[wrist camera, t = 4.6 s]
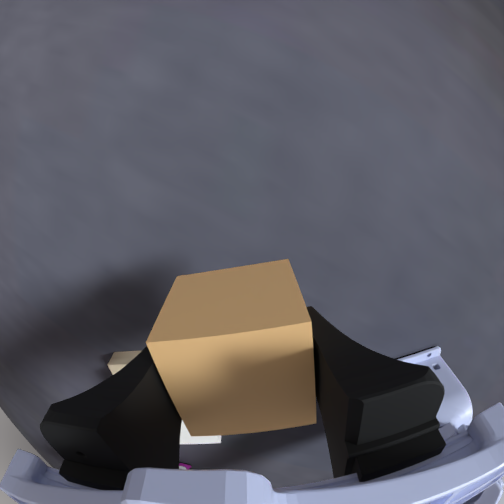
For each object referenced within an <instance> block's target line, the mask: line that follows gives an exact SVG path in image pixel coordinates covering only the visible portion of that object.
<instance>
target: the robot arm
mask: <svg viewBox="0 0 504 504" xmlns="http://www.w3.org/2000/svg"><path fill="white" fill-rule="evenodd" d="M306 308H307V310H308V313H309V316H310V319H311V321H312V336H313V352H314V370H315V393H316V398H317V401H318V404H319V407H320V410H321V415H322V419H323V424H324V428H325V433H326V438H327V443H328V448H329V453H330V458H331V464H332V469H333V475H334V478H333V479H329V480H324V481H319V482H313V483H308V484H302V485H296V486H289V487H281V488H273V489H272V486H271V483H270V481H268V480H267V479H266V478H265V477H264V476H262V475H261V474H258V473H254V472H251V471H247V470H234V469H214V470H187V469H179V448H180V433H181V423H182V419H181V417H180V415H179V413H178V411H177V409H176V407H175V405H174V403H173V401H172V399H171V397H170V395H169V393H168V391H167V389H166V387H165V385H164V382H163V380H162V378H161V376H160V374H159V372H158V369H157V367H156V365H155V363H154V360H153V358H152V356H151V354H150V351H149V349H148V346H147V347H146V348H144V349H143V350H142V351H141V352H140V353H139V354H138V355H137V356H136V357H135V358H134V359H133V360H131V361H130V362H129V363H128V364H127V365H126V366H125V367H123V368H122V369H121V370H119V371H118V372H117V373H115V374H114V375H112V376H111V377H110V378H108V379H106V380H105V381H103V382H101V383H100V384H98V385H96V386H95V387H93V388H91V389H89V390H87V391H85V392H83V393H81V394H79V395H76V396H74V397H71V398H69V399H66V400H63V401H60V402H57V403H54V404H52V405H51V406H50V408H49V410H48V412H47V413H46V415H45V417H44V419H43V421H42V422H41V424H40V430H41V432H42V434H43V436H44V438H45V439H46V440H47V441H48V443H49V444H50V445H51V446H52V447H53V448H54V449H55V450H56V451H57V452H58V453H59V454H60V455H61V456H62V457H63V458H64V461H63V464H62V466H61V468H60V470H57V469H54V468H51V467H48V466H47V465H46V464H45V463H44V462H43V461H42V460H41V459H40V458H39V457H38V456H36V455H34V454H32V453H29V452H26V451H24V450H21V449H17V451H16V453H15V455H14V457H13V459H12V461H11V463H10V465H9V467H8V469H7V471H6V473H5V475H4V477H3V479H2V481H1V483H0V489H1V490H2V491H3V492H4V493H6V494H7V495H8V496H9V497H11V498H12V499H13V500H14V501H16V502H17V503H18V504H497V503H498V501H499V499H500V498H501V496H502V493H503V484H504V482H503V480H502V477H503V476H504V407H503V405H502V404H501V403H500V402H499V403H497V404H495V405H493V406H491V407H490V408H488V409H486V410H485V411H483V412H481V413H479V414H478V415H477V416H476V417H475V418H473V420H472V413H473V412H472V404H471V401H470V398H469V395H468V393H467V391H466V390H465V388H464V387H463V385H462V384H461V383H460V381H459V380H458V379H457V377H456V376H455V375H454V373H453V372H452V371H451V369H450V368H449V367H448V365H447V364H446V363H445V361H444V360H443V359H442V358H441V356H440V352H441V348H440V347H438V346H437V347H434V348H431V349H428V350H425V351H422V352H419V353H416V354H413V355H410V356H407V357H403V358H400V359H393V358H390V357H387V356H384V355H382V354H379V353H377V352H375V351H372V350H370V349H368V348H366V347H364V346H362V345H360V344H359V343H357V342H355V341H353V340H352V339H350V338H349V337H347V336H346V335H344V334H343V333H342V332H340V331H339V330H338V329H336V328H335V327H334V326H333V325H332V324H330V323H329V322H328V321H327V320H326V319H325V318H324V317H322V316H321V315H320V314H319V313H318V312H317V311H316V310H315V309H314V308H313V307H312V306H310V307H306Z"/></svg>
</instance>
